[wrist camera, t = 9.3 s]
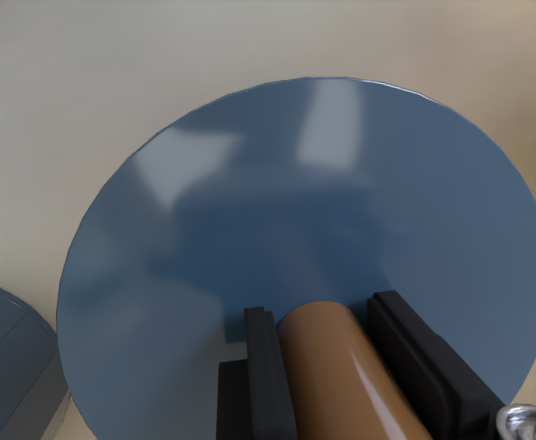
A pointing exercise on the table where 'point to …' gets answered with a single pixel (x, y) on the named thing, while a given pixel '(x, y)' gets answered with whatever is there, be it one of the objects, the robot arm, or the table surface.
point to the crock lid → (296, 259)
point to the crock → (29, 374)
